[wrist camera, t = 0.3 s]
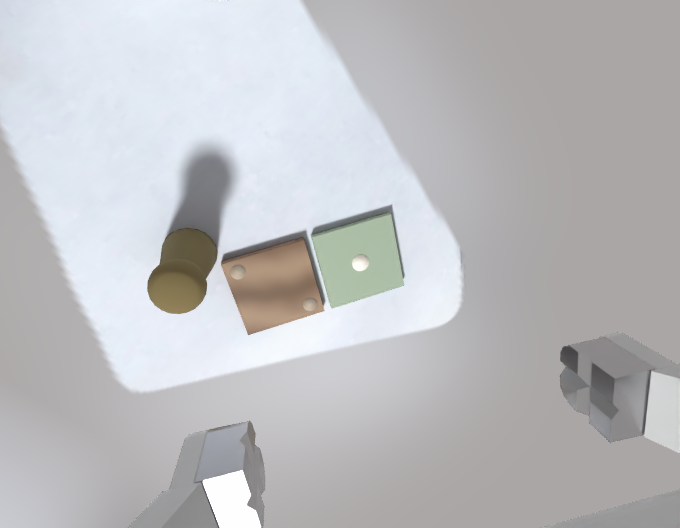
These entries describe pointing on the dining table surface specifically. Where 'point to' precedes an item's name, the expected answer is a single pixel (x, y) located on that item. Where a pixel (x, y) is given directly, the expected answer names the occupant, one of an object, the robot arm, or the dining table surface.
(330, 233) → the tile one
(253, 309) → the tile two
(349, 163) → the dining table surface
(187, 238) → the cork
